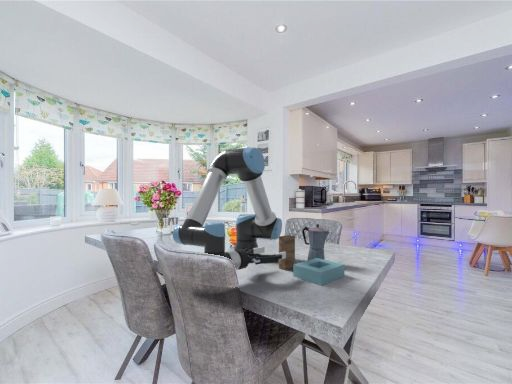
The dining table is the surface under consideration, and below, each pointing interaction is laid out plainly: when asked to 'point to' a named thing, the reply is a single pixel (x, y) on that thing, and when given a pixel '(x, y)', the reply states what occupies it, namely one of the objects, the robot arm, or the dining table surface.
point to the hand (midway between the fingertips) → (274, 252)
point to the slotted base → (318, 271)
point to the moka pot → (316, 241)
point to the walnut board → (287, 251)
